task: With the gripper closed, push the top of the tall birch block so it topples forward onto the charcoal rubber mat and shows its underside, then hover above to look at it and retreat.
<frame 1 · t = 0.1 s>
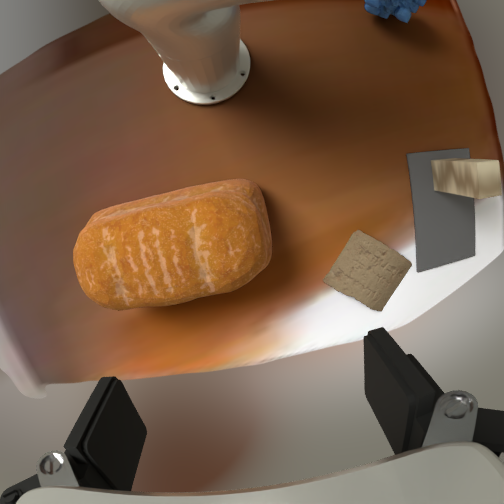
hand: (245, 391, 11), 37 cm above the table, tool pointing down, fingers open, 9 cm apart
birch block: (443, 173, 45), resting on rubber mat
rubber mat: (445, 208, 47), on the table
bread: (180, 234, 47), on the table
grapes: (382, 18, 38), on the table
clay tablet: (368, 270, 50), on the table
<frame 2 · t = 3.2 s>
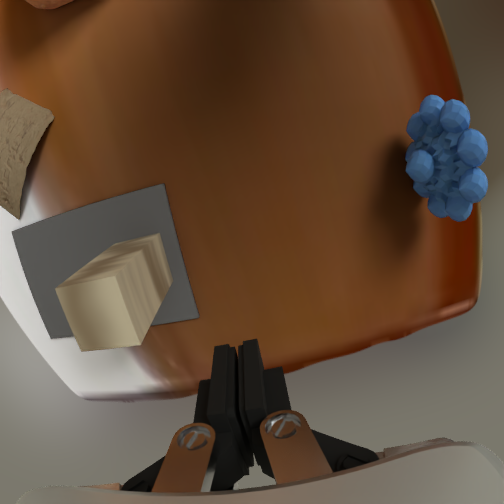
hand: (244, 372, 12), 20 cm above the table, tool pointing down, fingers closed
birch block: (143, 262, 31), resting on rubber mat
rubber mat: (95, 271, 31), on the table
grapes: (403, 160, 29), on the table
clay tablet: (13, 152, 28), on the table
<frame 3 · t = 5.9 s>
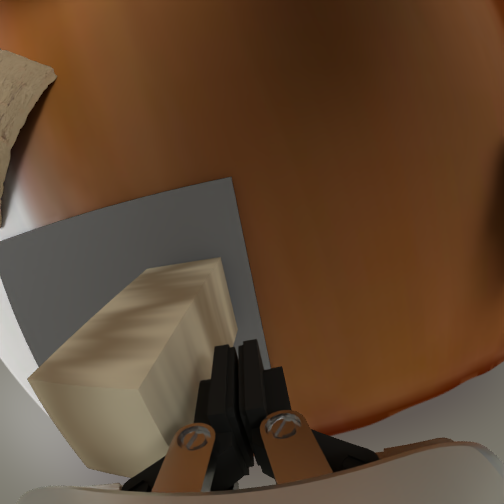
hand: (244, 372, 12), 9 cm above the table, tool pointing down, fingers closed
birch block: (192, 299, 20), point 1 cm above the table, tilted 8°, touching gripper, rubber mat
rubber mat: (114, 308, 21), on the table
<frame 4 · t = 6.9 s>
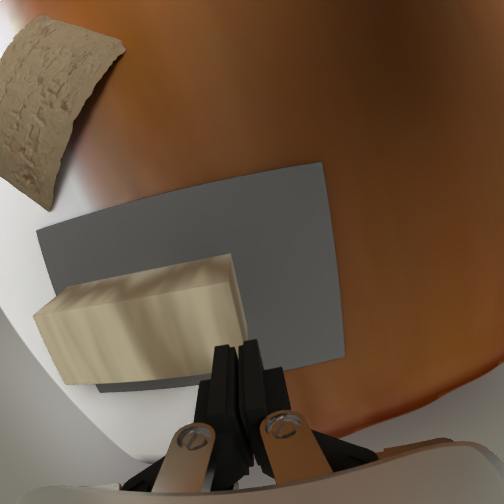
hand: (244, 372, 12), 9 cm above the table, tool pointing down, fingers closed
birch block: (239, 306, 18), point 3 cm above the table, tilted 90°, touching rubber mat
rubber mat: (188, 297, 21), on the table
clay tablet: (44, 105, 18), on the table
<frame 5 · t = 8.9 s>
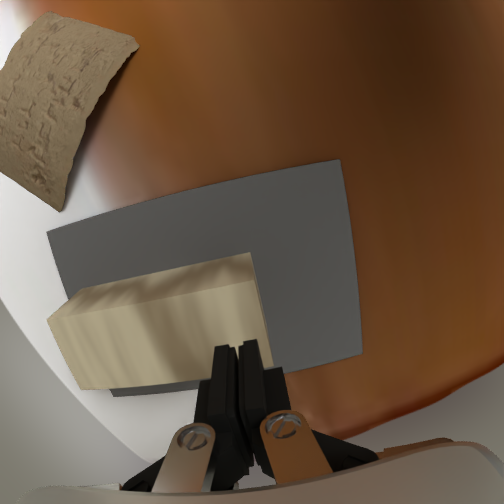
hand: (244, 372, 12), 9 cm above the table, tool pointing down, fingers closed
birch block: (261, 305, 18), point 3 cm above the table, tilted 90°, touching rubber mat
rubber mat: (206, 297, 21), on the table
clay tablet: (53, 103, 17), on the table
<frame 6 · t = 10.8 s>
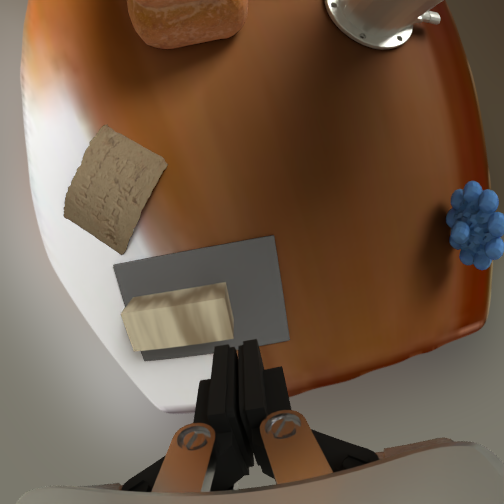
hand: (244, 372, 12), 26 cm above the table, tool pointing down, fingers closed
birch block: (229, 309, 36), point 3 cm above the table, tilted 90°, touching rubber mat
rubber mat: (202, 304, 39), on the table
grapes: (443, 220, 38), on the table
clay tablet: (114, 189, 36), on the table
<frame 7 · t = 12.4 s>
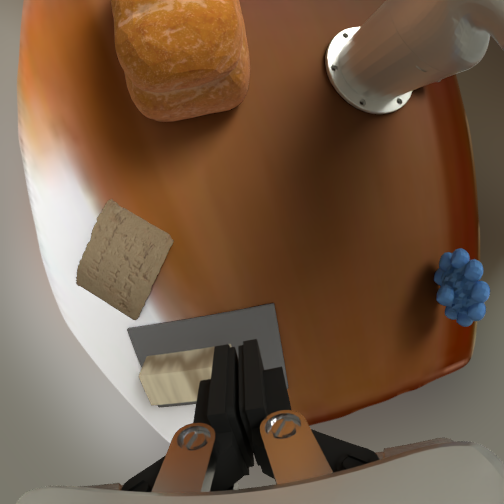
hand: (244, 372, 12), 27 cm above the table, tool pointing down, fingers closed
birch block: (235, 369, 39), point 3 cm above the table, tilted 90°, touching rubber mat
rubber mat: (210, 361, 42), on the table
bread: (184, 29, 32), on the table
grapes: (431, 277, 42), on the table
clay tablet: (123, 261, 39), on the table
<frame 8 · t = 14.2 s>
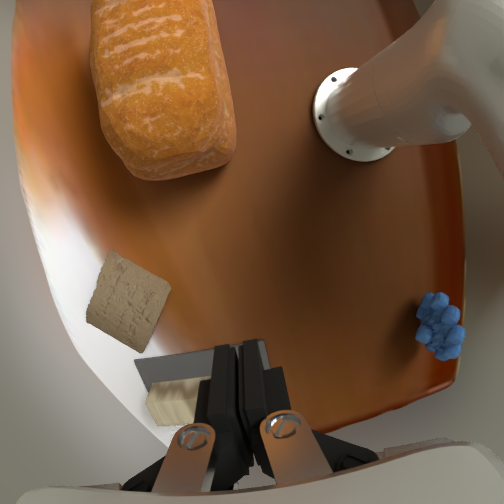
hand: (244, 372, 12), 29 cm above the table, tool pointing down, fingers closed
birch block: (230, 395, 43), point 3 cm above the table, tilted 90°, touching rubber mat
rubber mat: (208, 387, 46), on the table
bread: (172, 78, 35), on the table
grapes: (415, 311, 45), on the table
clay tablet: (127, 303, 43), on the table
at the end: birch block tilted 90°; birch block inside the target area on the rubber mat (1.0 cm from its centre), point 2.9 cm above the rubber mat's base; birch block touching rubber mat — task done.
